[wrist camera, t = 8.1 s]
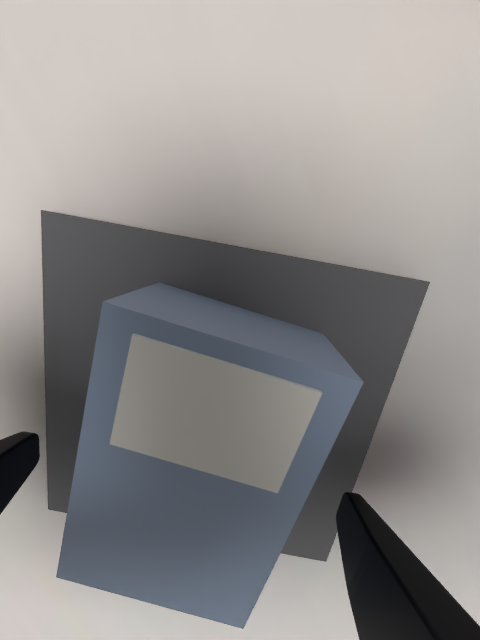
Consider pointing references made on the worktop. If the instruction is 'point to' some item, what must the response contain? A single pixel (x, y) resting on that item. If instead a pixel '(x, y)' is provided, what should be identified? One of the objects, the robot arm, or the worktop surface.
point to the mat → (235, 289)
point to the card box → (198, 449)
